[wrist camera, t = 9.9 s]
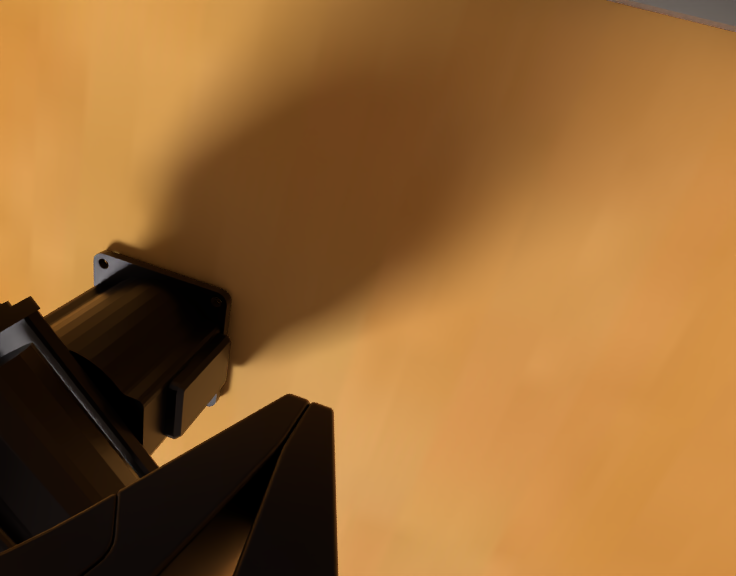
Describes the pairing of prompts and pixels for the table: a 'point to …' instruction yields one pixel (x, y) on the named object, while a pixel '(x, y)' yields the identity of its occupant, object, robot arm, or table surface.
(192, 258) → the table surface
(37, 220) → the table surface
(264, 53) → the table surface
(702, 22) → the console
